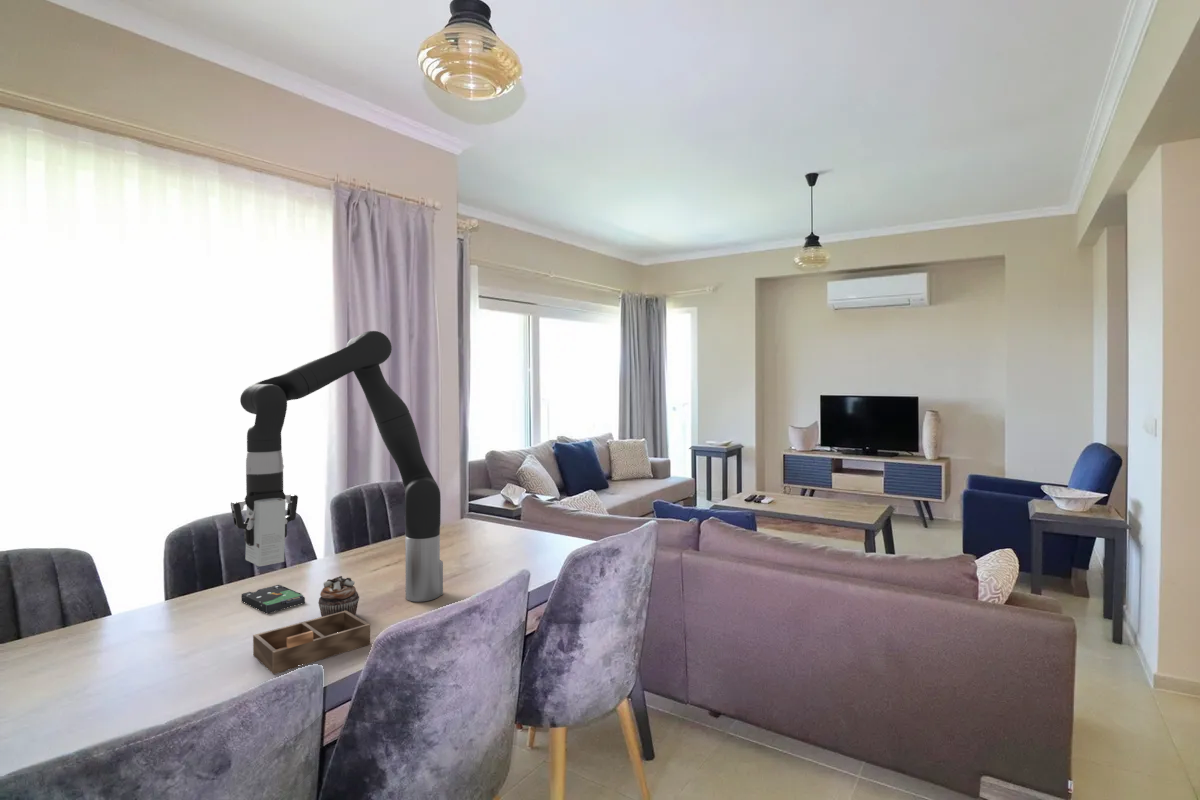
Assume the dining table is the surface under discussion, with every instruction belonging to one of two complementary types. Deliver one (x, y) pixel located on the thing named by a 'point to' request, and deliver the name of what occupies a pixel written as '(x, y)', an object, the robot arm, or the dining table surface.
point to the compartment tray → (310, 641)
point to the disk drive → (273, 598)
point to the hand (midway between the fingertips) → (265, 542)
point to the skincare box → (267, 532)
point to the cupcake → (338, 596)
